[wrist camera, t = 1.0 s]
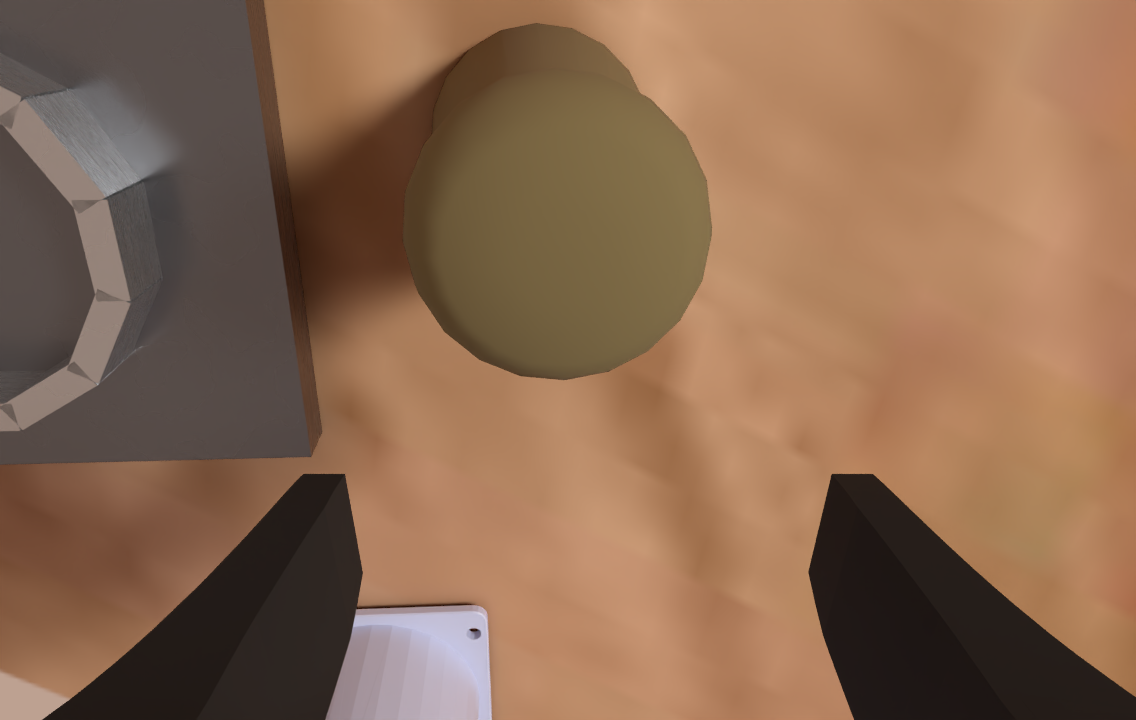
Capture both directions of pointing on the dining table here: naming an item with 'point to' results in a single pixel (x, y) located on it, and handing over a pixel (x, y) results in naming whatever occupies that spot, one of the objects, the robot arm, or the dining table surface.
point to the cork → (554, 208)
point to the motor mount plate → (147, 238)
